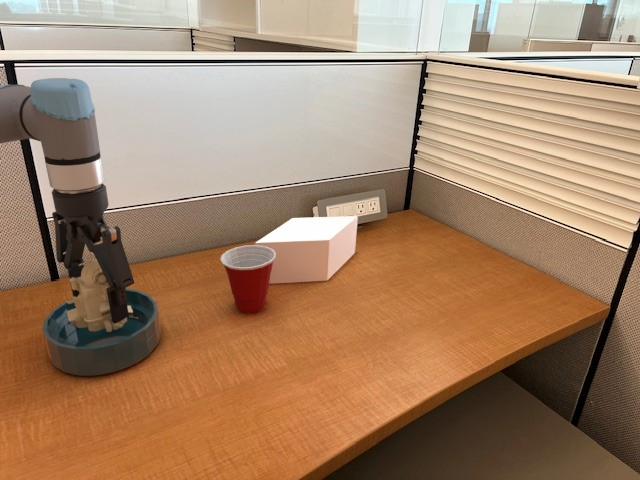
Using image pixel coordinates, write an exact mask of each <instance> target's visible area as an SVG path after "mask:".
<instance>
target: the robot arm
mask: <svg viewBox="0 0 640 480" xmlns="http://www.w3.org/2000/svg"><path fill="white" fill-rule="evenodd" d="M90 90H91V89H90V87H89V85H88V84H87V82H86V81H84V80H82V79H78V78H67V77H50V78H40V79H36V80H33V81H32V82H31V85H30V86H26V85H24V84H19V83H17V84H2V85H0V144H4V143H10V142H16V141H21V140H34V141H38V142H40V144H41V148H42V152H43V156H44V157H43V158H44V163H45V168H46V173H47V176H48V182H49V186H50V188H52V190H51V196H52V201H53V205H54V210H55V211H53V212H52V214H51V215H52V220H53V223H54V233H55V234H54V235H55V254H56V255H55V256H56V262H58V263H59V264H61V263H63V266H64V269H66V270H67V274H68V279H69V280H70V279H71V278H72V277H74V278H77V277H81V272H82V269H83V267H84V266H85V264H83V263H85V262H86V261H85V259H84V258H83V257H84V253H85V247H86V248H87V250H88V252H89V251H90V252H91V253H93V256H94V258H95V259H97V262H98V264H99V266H100V268H101V270H102V272H103V274H104V276H105V278H106V280H107V282H108V284H109V286H110V287H109V288H107V289H106V290H107V295H108V300H109V306H110V312H111V318H112V322H113V323H115V324H116V323H118V322H120V321H121V320H123V319H125V318H127V317H128V316H129V313H128V307H127V296H126V289H127V288H128V287H130V286H132V285H134V284H135V279H134V276H133V273H132V269H131V266H130V263H129V260H128V258H127V254H126V251H125V247H124V245H123V242H122V234H121V233H122V232H121V231H122V230H121V228H120V226H118V225H116V226H113V227H111V226H109V225H108V224H107V221H106V219H105V216H104V213H105V212H106V210H107V209H108V208H109V198H108V192H107V191H108V190H107V186H106V185H105V184H104V182H105V175H104V170H103V161H102V157H101V149H100V140H99V133H98V126H97V119H96V109H95V105H94V103H93V99H92V95H91V91H90ZM94 244H98V245H94ZM90 252H89V253H90ZM69 283H70V284H71V282H70V281H69ZM71 292H72V296H74V297H78V295H79V294H80V293H79V291H77V290H73V289H72V287H71Z"/></svg>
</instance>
